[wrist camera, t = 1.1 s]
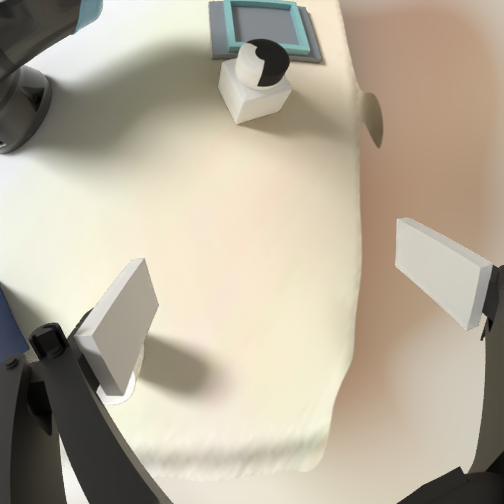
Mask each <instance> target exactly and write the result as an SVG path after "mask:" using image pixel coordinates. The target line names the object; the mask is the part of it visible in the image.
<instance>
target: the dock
mask: <svg viewBox="0 0 504 504" xmlns="http://www.w3.org/2000/svg"><path fill="white" fill-rule="evenodd" d="M208 7H209V23H210V38H211V52H212V59H226V58H237V57H238V53H239V50H240V48H241V46H242V45H243V44H244V43H246V42H248V41H250V40H253V39H268V40H271V41H274V42H276V43H278V44H279V45H281V46H282V47H283V48H284V49H285V50H286V52H287V53H288V55H289V59H290V60H296V61H307V62H317V63H319V62H320V61H321V60H322V58H321V55H320V51H319V48H318V45H317V41H316V38H315V35H314V32H313V28H312V25H311V22H310V19H309V16H308V13H307V10H306V7H300V6H297V4H296V2H290V1H281V0H224V1H212V2H209V5H208Z"/></svg>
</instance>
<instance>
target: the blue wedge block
mask: <svg viewBox="0 0 504 504" xmlns="http://www.w3.org/2000/svg"><path fill="white" fill-rule="evenodd" d="M28 349H30V348H29V346H28V345H27V343H26V341H25V339H24V337H23V335H22V333H21V331H20V329H19V327H18V325H17V323H16V321H15V319H14V317H13V315H12V312H11V310H10V308H9V306H8V303H7V301H6V299H5V296H4V294H3V291H2V289H1V286H0V365H1V363H2V362H3V361H4V359H5V358H8V356H10V355H13V354H17V353H20V354H22V353H24V352H25V351H27V350H28Z"/></svg>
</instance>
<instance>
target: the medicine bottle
mask: <svg viewBox="0 0 504 504" xmlns="http://www.w3.org/2000/svg"><path fill="white" fill-rule="evenodd" d="M289 63H290V59H289V55H288V53H287V52H286V50H285V49H284V48H283V47H282V46H281V45H279V44H278V43H276V42H274V41H271V40H268V39H253V40H250V41H248V42H246V43H244V44H243V45H242V46H241V48H240V50H239V53H238V57H237V58H235V59H231V60H227V61H223V62H222V66H221V72H220V78H219V84H218V89H219V91H220V93H221V95H222V97H223V99H224V101H225V103H226V105H227V107H228V109H229V111H230V113H231V116H232V118H233V120H234V122H235V124H240V123H243V122H246V121H249V120H253V119H256V118H259V117H262V116H266V115H269V114H273V113H276V112H279V110H280V109H281V107H282V106H283V104H284V103H285V101H286V99H287V98H288V96H289V95H290V93H291V91H292V87H291V86H290V84H289V82H288V80H287V78H286V77H285V75H284V74H285V72H286V70H287V68H288V66H289Z"/></svg>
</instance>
